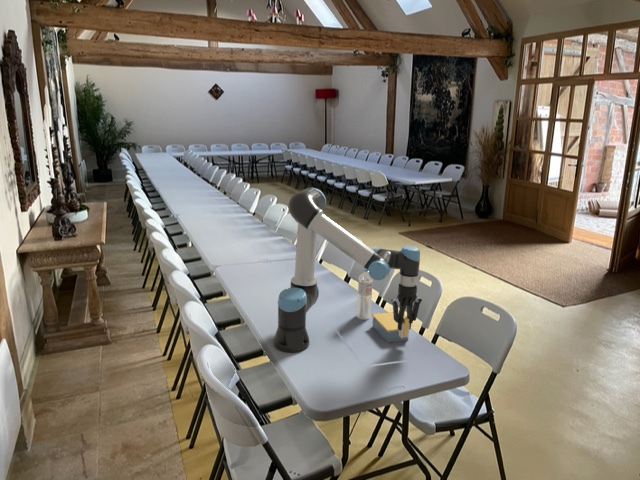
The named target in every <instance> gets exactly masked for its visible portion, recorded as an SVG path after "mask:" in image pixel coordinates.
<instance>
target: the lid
mask: <svg viewBox="0 0 640 480" xmlns="http://www.w3.org/2000/svg"><path fill="white" fill-rule="evenodd" d="M371 316H372V318H373V317H374V318H375V319H376V321H377V322H378V323H379V324H380V325H381V326H382V327H383V328H384V329H385V330H386V331H387V332H393V331H398V332H399V330H398V328H397V327H398V323H397V322H396V321H395V320H394V315H393V311H392V312H383V313H371ZM403 323H404V332H403V337H408V338H409V336H408V327H409V319H408V318H407V315H405V314H404V318H403ZM410 330H411V329H409V331H410Z"/></svg>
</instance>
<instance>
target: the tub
mask: <svg viewBox="0 0 640 480" xmlns="http://www.w3.org/2000/svg"><path fill="white" fill-rule="evenodd" d="M372 328H373V329H374V330H375V331H376V333H378V335H380V337H382V338H383V340H384V341H385V342H386V343H389V344H390V343H395V342H404V341H409V336H408V337H403V338H401V337H400V336H399V332H398V331H393V332H387V331H386V330H385V329H384V328H383V327H382V326H381V325H380V324H379V323H378V322H377V321H376V319H375V318H374V317H373V316H372Z"/></svg>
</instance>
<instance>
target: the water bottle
mask: <svg viewBox="0 0 640 480" xmlns="http://www.w3.org/2000/svg"><path fill="white" fill-rule="evenodd" d="M357 280H358V288H357V299H356V318H357V319H358V320H362V321H367V320H369V319H371V316H372V301H373V299H372V298H373V282H374V279H372V278H371V277H370V275H369V273H368V270H366V269H365V268H364V272H363V273H361V274H360V275H358V279H357Z"/></svg>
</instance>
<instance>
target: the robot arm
mask: <svg viewBox="0 0 640 480" xmlns="http://www.w3.org/2000/svg"><path fill="white" fill-rule="evenodd" d="M326 206H327V198H326V196H325V194H324V192H322V190H320V189H318V188H315V187H308V188H304V189H302V190H301V191H298V192H296V193H294V194H293V195H292V196H291V197H290V199H289V201H288V212H289V214H290V215H291V217H292V219H294V221H295V223H297V231H296V247H295V249H296V250H295V262H294V263H295V265H294V266H295V267H294V275H293V277H291V278H290V286H289V287H288V288H285V289H283V290H281V291H280V293H279V294H278V299H277V305H278V306H277V313H278V314H277V329H276V331H275V334H274V336H273V337H274V338H273V346H274V347H275V349H277V350H279V351H281V352H286V353H298V352H302V351H304V350H306V349H308V347H309V346H310V336H309V334H308V330H307V326H306V325H307V323H306V322H307V313H308V312H309V310H310V309H311V308H312V307H313V306H314V305H315V304H316V303H317V301H318V299H319V294H320V290H319V287H318V279H316V277H315V271H316V269H315V268H316V256H317V255H316V254H317V244H318V235H319V237H321V238H323V239H324V240H325V241H327V242H328V243H329V244H331V245H332V246H333V247H335V248H337V249H338V250H339V251H340V252H342V253H343V254H344V255H346V256H347V257H348V258H350V259H351V260H353V261H354V262H355V263H357V264H358V265H360V266H361V267H362V268H364V269H366V270H368V273H369V275H370V277H371V278H372V279H373V281H383V280H384V279H385V278H387V276H389V274H390V271H391V269H392V270H393V269H394V270H399V277H398V288H397V289H398V290H397V292H398V294H397V296H396V297H395V298H394V299H393V298H392V299H391V300H390V301H391V303H392V312H393V315H394V320H395V321H396V322H397V323H398V327H397V328H398V330H399V336H400V337H401V338H403V332H404V323H403V318H404V315H405V312H406V317H407V318H408V319H409V327H408V337H409V333H410V330H411V329H412V324H413V323H414V322H416V320H417V317H418V313H419V308H420V305H421V303H422V301H423V299H422V298H420V297H419V296H417V294H418V293H417V292H418V281H419V271H420V262H421V249H419V248H418V247H416V246H414V245H413V246H411V245H408V246H407V245H405V246H403V247H401V249H400V250H395V249H394V250H392V249H386V248H373V249H372V248H370V247H369V246H368V245H366V244H365V243H364V242H362V240H360V239H358V238H356V237H355V236H354V235H353V234H351V233H350V232H349V231H347V230H346V229H345V228H343V227H342V226H341V225H339V224H337V223H336V222H335V221H333V220H332V219H330V217H328V216H326V214H324V212H323V211H324V210H325V208H326ZM398 305H399V306H398ZM405 310H406V311H405ZM409 329H410V330H409Z"/></svg>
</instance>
